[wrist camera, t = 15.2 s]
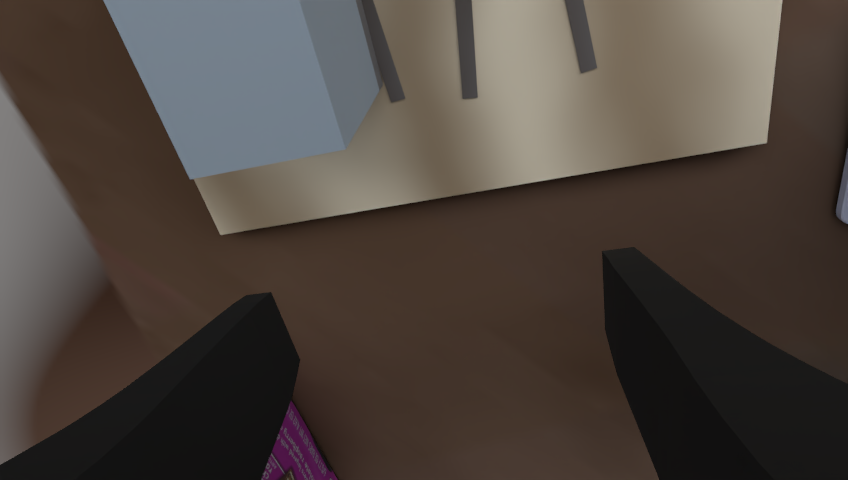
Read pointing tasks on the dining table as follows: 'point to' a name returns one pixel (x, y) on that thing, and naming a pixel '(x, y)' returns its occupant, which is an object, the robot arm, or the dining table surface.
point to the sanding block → (252, 76)
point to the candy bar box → (296, 453)
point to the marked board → (524, 101)
